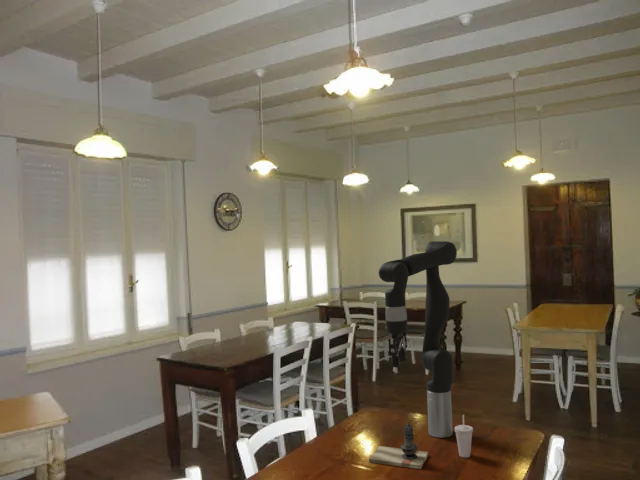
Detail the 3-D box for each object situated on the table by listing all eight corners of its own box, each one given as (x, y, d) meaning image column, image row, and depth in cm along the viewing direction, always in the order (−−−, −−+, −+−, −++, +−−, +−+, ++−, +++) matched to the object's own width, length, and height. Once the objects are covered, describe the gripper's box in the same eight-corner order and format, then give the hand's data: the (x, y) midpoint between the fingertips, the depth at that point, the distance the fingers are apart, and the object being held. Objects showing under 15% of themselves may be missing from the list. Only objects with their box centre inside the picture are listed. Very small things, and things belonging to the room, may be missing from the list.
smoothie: (474, 452, 192) (473, 413, 192) (473, 459, 186) (472, 419, 186) (456, 450, 194) (454, 412, 194) (454, 458, 188) (453, 417, 188)
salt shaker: (418, 460, 184) (416, 425, 184) (400, 459, 186) (399, 424, 185) (418, 453, 190) (417, 419, 190) (401, 452, 191) (400, 418, 191)
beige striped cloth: (379, 449, 198) (379, 445, 198) (428, 455, 191) (428, 451, 191) (369, 462, 187) (368, 458, 187) (420, 469, 180) (420, 465, 180)
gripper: (400, 322, 184) (403, 369, 184) (412, 315, 197) (414, 359, 197) (379, 322, 187) (382, 368, 187) (392, 315, 200) (394, 358, 200)
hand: (399, 364), depth 192 cm, fingers open, 8 cm apart
